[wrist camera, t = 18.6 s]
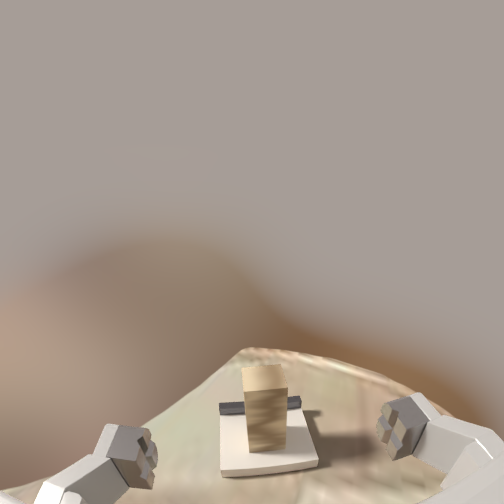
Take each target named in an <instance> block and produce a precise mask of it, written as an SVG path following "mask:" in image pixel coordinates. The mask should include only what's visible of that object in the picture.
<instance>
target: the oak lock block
mask: <svg viewBox="0 0 504 504" xmlns="http://www.w3.org/2000/svg"><path fill="white" fill-rule="evenodd" d="M242 378H243V391H244V402H245V414H246V425H247V436H248V445H249V453H254V452H265V451H274V450H282V449H286V427H287V397H288V387H287V383H286V380H285V377H284V374H283V370H282V367H281V364H278V365H268V366H257V367H244V368H242Z"/></svg>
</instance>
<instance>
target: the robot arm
mask: <svg viewBox="0 0 504 504" xmlns="http://www.w3.org/2000/svg"><path fill="white" fill-rule="evenodd" d="M381 412H382V414H383V415H382V416H381V417H380V418H379V419H378V422H377V434H378V437H379V439H380V440H381V442H383V443H386V444H387V447H386V451H387V452H388V454H389V456H390V457H391V459H392V461H395V460H398V459H400V458H403V457H406V456H409V455H411V454H412V455H413V456H414V457H416V458H418V459H420V460H421V461H423V462H425V463H427V464H429V465H431V466H432V467H434V468H436V469H438V470H440V471H442V472H444V473H446V474H447V476H446V477H445V478H444V480H443V481H442V483H441V485H440V487H441V488H442V490H443V491H441V492H439V493H437V494H435V495H433V496H431V497H429V498H427V499H425V500H423V501H421V502H419V503H417V504H504V442H503V441H502V440H501V439H500V438H499V437H498V436H497V435H496V433H494V431H493V430H492V429H488V428H485V427H481V426H478V425H475V424H471V423H468V422H465V421H462V420H459V419H455V418H452V417H449V416H446V415H443V416H441V415H440V414H439V413H438V412H437V410H436V409H435V408H434V407H433V406H432V405H431V404H430V402H429V401H428V400H427V399H426V398H425V397H424V396H423V395H422V394H421V393H419V392H418V393H415V394H412V395H409V396H406V397H403V398H400V399H396V400H393V401H390V402H387V403H384V404H383V406H382V408H381ZM150 439H151V433H150V431H149V429H147V428H139V427H130V426H123V425H114V424H107V425H106V426H105V427H104V429H103V432H102V434H101V436H100V438H99V441H98V443H97V445H96V448H95V450H94V453H93V455H90V454H89V455H87V456H85V457H84V458H82V459H81V460H79V461H78V462H76V463H74V464H73V465H71V466H70V467H68V468H66V469H65V470H63V471H61V472H60V473H58V474H56V475H55V476H53V477H51V478H49V479H48V480H46V481H44V483H43V485H42V487H41V489H40V491H39V494H38V496H37V498H36V500H35V502H34V504H114V503H115V502H116V501H117V500H118V499H119V498H120V497H121V496H122V495H123V494H124V493H125V492H126V491H127V490H128V489H129V487H131V488H140V489H150V490H152V488H153V483H154V477H155V475H154V473H153V471H152V470H153V469H154V468H155V467H157V461H158V453H157V448H156V445H155V443H154V442H152V441H151V440H150ZM0 504H26V503H24V502H22V501H20V500H18V499H16V498H14V497H12V496H10V495H8V494H6V493H5V492H3V491H1V490H0Z"/></svg>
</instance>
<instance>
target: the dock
mask: <svg viewBox="0 0 504 504" xmlns="http://www.w3.org/2000/svg"><path fill="white" fill-rule="evenodd" d="M301 402H302V401H301V398H300V396H293V397H287V427H286V449H282V450H274V451H265V452H254V453H249V445H248V436H247V425H246V414H245V402H229V403H219V411H220V470H221V474H222V477H239V476H254V475H264V474H273V473H281V472H289V471H295V470H301V469H307V468H313V467H317V465H318V460H319V459H318V456H317V453H316V450H315V447H314V444H313V441H312V438H311V435H310V432H309V429H308V426H307V423H306V421H305V418H304V415H303V412H302V409H301Z"/></svg>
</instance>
